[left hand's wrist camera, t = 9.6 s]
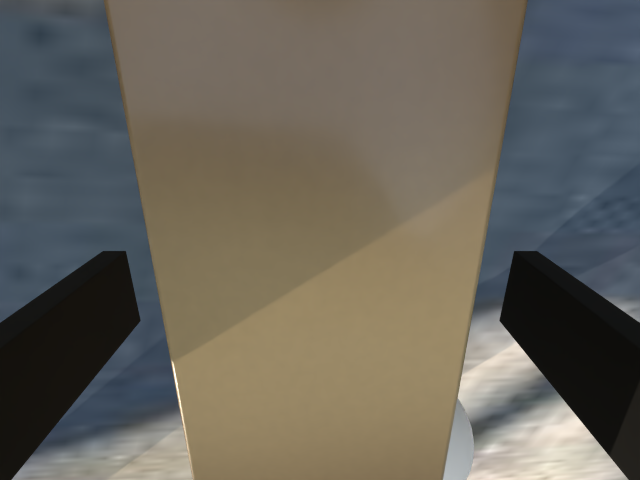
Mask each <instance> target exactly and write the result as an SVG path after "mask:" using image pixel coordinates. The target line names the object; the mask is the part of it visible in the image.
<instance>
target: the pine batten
mask: <svg viewBox="0 0 640 480" xmlns="http://www.w3.org/2000/svg"><path fill="white" fill-rule="evenodd" d="M527 1H528V0H104V4H105V9H106V15H107V20H108V25H109V31H110V36H111V41H112V47H113V52H114V58H115V63H116V68H117V74H118V79H119V84H120V90H121V95H122V101H123V106H124V111H125V117H126V122H127V128H128V133H129V138H130V144H131V149H132V154H133V160H134V165H135V171H136V176H137V181H138V187H139V192H140V197H141V203H142V208H143V214H144V219H145V224H146V230H147V235H148V241H149V246H150V251H151V257H152V262H153V267H154V273H155V278H156V284H157V289H158V294H159V300H160V305H161V310H162V316H163V321H164V327H165V332H166V337H167V343H168V348H169V354H170V359H171V364H172V370H173V375H174V380H175V386H176V391H177V397H178V402H179V407H180V413H181V418H182V423H183V429H184V434H185V440H186V445H187V450H188V456H189V461H190V467H191V472H192V477H193V480H443V477H444V471H445V465H446V460H447V454H448V448H449V443H450V437H451V431H452V426H453V420H454V414H455V409H456V403H457V397H458V392H459V386H460V380H461V375H462V369H463V363H464V358H465V352H466V347H467V341H468V335H469V330H470V324H471V318H472V313H473V307H474V301H475V296H476V290H477V284H478V279H479V273H480V267H481V262H482V256H483V250H484V245H485V239H486V233H487V228H488V222H489V216H490V211H491V205H492V199H493V194H494V188H495V182H496V177H497V171H498V165H499V160H500V154H501V148H502V143H503V137H504V132H505V126H506V120H507V115H508V109H509V103H510V98H511V92H512V86H513V81H514V75H515V69H516V64H517V58H518V52H519V47H520V41H521V35H522V30H523V24H524V18H525V13H526V7H527Z"/></svg>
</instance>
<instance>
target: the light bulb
mask: <svg viewBox="0 0 640 480" xmlns="http://www.w3.org/2000/svg"><path fill="white" fill-rule="evenodd" d="M473 457H474V441H473V434H472V429H471V425H470V422H469V420H468V417H467V414H466V412H465V410H464V408H463V406H462V404H461V403H460V401H459V400H458V398H457V403H456V409H455V414H454V420H453V426H452V431H451V437H450V443H449V448H448V454H447V460H446V465H445V471H444V477H443V480H466V479H467V477H468V475H469V473H470V470H471V466H472V463H473Z"/></svg>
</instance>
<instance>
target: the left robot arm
mask: <svg viewBox="0 0 640 480" xmlns="http://www.w3.org/2000/svg"><path fill="white" fill-rule="evenodd" d="M139 322H140V316H139V311H138V307H137V302H136V297H135V292H134V288H133V283H132V278H131V274H130V269H129V264H128V259H127V255H126V251H103V252H101V253H100V254H98V255H97V256H95V257H94V258H93V259H91V260H90V261H88V262H87V263H85V264H84V265H82V266H81V267H80V268H78V269H77V270H75V271H74V272H72V273H71V274H70V275H68V276H67V277H65V278H64V279H62V280H61V281H60V282H58V283H57V284H55V285H54V286H52V287H51V288H50V289H48V290H47V291H45V292H44V293H42V294H41V295H39V296H38V297H37V298H35V299H34V300H32V301H31V302H29V303H28V304H27V305H25V306H24V307H22V308H21V309H19V310H18V311H17V312H15V313H14V314H12V315H11V316H9V317H8V318H7V319H5V320H4V321H2V322H1V323H0V480H11V479H12V478H13V477H14V476H15V475H16V473H17V472H18V471H19V470H20V468H21V467H22V466H23V465H24V463H25V462H26V461H27V460H28V459H29V457H30V456H31V455H32V454H33V452H34V451H35V450H36V449H37V447H38V446H39V445H40V444H41V443H42V441H43V440H44V439H45V438H46V436H47V435H48V434H49V433H50V431H51V430H52V429H53V428H54V427H55V425H56V424H57V423H58V422H59V420H60V419H61V418H62V417H63V415H64V414H65V413H66V412H67V411H68V409H69V408H70V407H71V406H72V404H73V403H74V402H75V401H76V399H77V398H78V397H79V396H80V395H81V393H82V392H83V391H84V390H85V388H86V387H87V386H88V385H89V383H90V382H91V381H92V380H93V379H94V377H95V376H96V375H97V374H98V372H99V371H100V370H101V369H102V367H103V366H104V365H105V364H106V363H107V361H108V360H109V359H110V358H111V356H112V355H113V354H114V353H115V351H116V350H117V349H118V348H119V347H120V345H121V344H122V343H123V342H124V340H125V339H126V338H127V337H128V335H129V334H130V333H131V332H132V331H133V329H134V328H135V327H136V326H137V324H138V323H139ZM500 322H501V323H502V324H503V326H504V327H505V328H506V329H507V331H508V332H509V333H510V334H511V335H512V337H513V338H514V339H515V340H516V342H517V343H518V344H519V345H520V347H521V348H522V349H523V350H524V351H525V353H526V354H527V355H528V356H529V358H530V359H531V360H532V361H533V363H534V364H535V365H536V366H537V367H538V369H539V370H540V371H541V372H542V374H543V375H544V376H545V377H546V379H547V380H548V381H549V382H550V383H551V385H552V386H553V387H554V388H555V390H556V391H557V392H558V393H559V395H560V396H561V397H562V398H563V399H564V401H565V402H566V403H567V404H568V406H569V407H570V408H571V409H572V411H573V412H574V413H575V414H576V415H577V417H578V418H579V419H580V420H581V422H582V423H583V424H584V425H585V427H586V428H587V429H588V430H589V431H590V433H591V434H592V435H593V436H594V438H595V439H596V440H597V441H598V443H599V444H600V445H601V446H602V447H603V449H604V450H605V451H606V452H607V454H608V455H609V456H610V457H611V459H612V460H613V461H614V462H615V463H616V465H617V466H618V467H619V468H620V470H621V471H622V472H623V473H624V475H625V476H626V477H627V478H628V479H629V480H640V323H639V322H638V321H636V320H635V319H633V318H632V317H631V316H629V315H628V314H626V313H625V312H623V311H622V310H621V309H619V308H618V307H616V306H615V305H613V304H612V303H611V302H609V301H608V300H606V299H605V298H603V297H602V296H601V295H599V294H598V293H596V292H595V291H593V290H592V289H590V288H589V287H588V286H586V285H585V284H583V283H582V282H580V281H579V280H578V279H576V278H575V277H573V276H572V275H570V274H569V273H568V272H566V271H565V270H563V269H562V268H560V267H559V266H558V265H556V264H555V263H553V262H552V261H550V260H549V259H547V258H546V257H545V256H543V255H542V254H540V253H539V252H537V251H514V255H513V259H512V264H511V269H510V274H509V278H508V283H507V288H506V292H505V297H504V302H503V307H502V311H501V316H500Z"/></svg>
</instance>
